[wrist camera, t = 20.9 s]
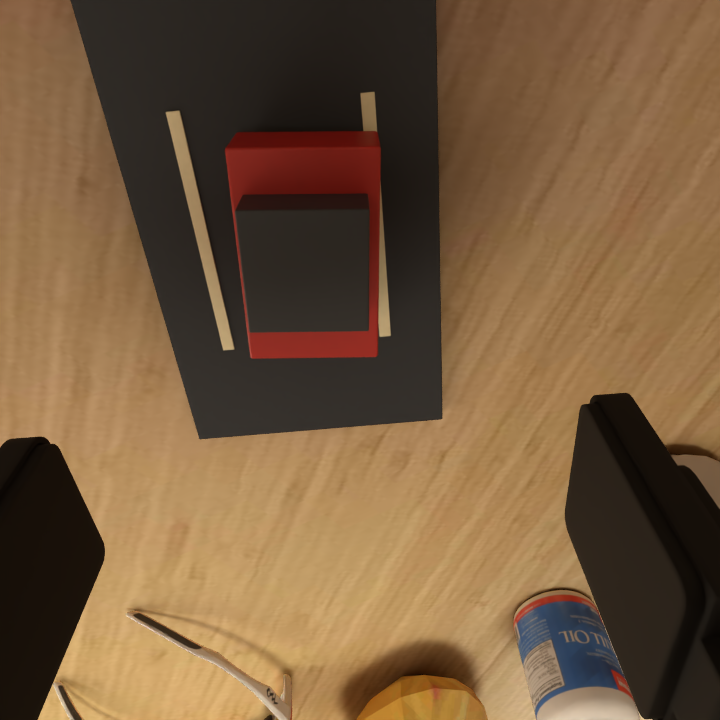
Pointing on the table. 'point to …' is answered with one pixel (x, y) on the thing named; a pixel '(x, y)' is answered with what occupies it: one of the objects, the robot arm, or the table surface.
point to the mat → (213, 201)
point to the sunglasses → (263, 692)
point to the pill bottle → (570, 660)
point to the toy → (424, 701)
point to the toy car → (307, 241)
